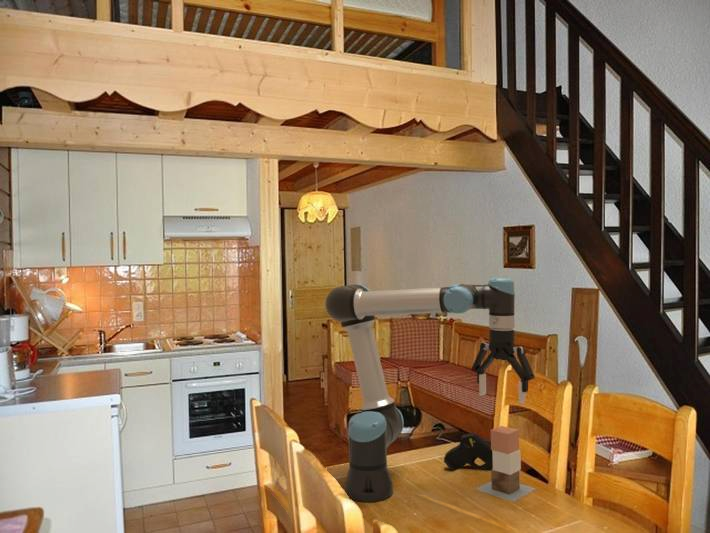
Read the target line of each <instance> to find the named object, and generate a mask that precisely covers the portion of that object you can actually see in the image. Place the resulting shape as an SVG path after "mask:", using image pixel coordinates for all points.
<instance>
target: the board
mask: <svg viewBox="0 0 710 533" xmlns="http://www.w3.org/2000/svg"><path fill="white" fill-rule="evenodd" d="M534 490H536V487H532V486H529V485H526V484H522V483H520V489H518V490H516V491H515V492H513V493H511V494H510V495H509V494H506V493H502V492H499V491H496V490H493V489H492V482H491V480H490V481H488V482H486V483H485V484H483V485H481V486H479V487H477V488H475V491H479V492H482V493H485V494H488V495H492V496H494V497H497V498H500V499H504V500H506V501H510V502H513V503H514V502H516V501H518V500H520V499H522V498H523V497H525V496H527V494H530V493H531V492H533V491H534Z"/></svg>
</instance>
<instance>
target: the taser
mask: <svg viewBox="0 0 710 533" xmlns="http://www.w3.org/2000/svg"><path fill="white" fill-rule="evenodd" d="M477 459H480V460H481V461H482V462H483V464H480V465H479V464H477V463H476V462H475V461H476V460H477ZM443 463H444V464H445V465H446V466H447V467H448V469H450V471H451V472H452V471H453V472H455V471H459V469H460V470H461V469H463V468H464V467H465V466H466V465H469V466H470V467H471V468H473V469H474V470H478V471H490V472H491V469H493V453H492V450H491V443H489V442H487V440H485V439H484V438H482V437H481V435H478V434H477V433H476V432H472V433H466V434H462V436H461V439H460V443H459V444H458V445H457V446H455V447H454V446H453V448H451V449H450V450H448V451H447V452H446V453H445V454H444V459H443Z"/></svg>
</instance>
